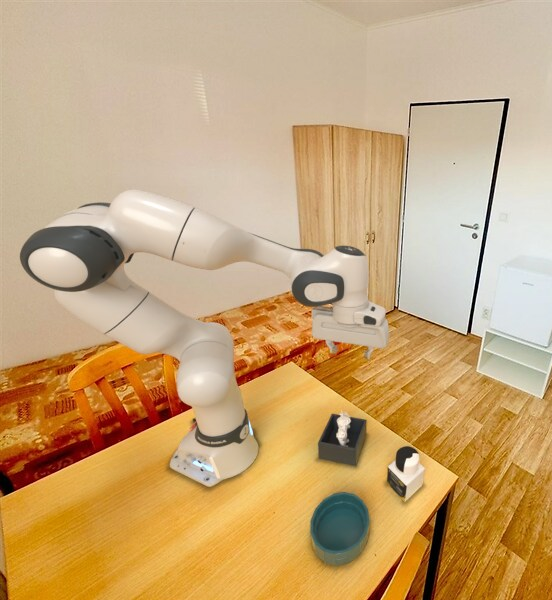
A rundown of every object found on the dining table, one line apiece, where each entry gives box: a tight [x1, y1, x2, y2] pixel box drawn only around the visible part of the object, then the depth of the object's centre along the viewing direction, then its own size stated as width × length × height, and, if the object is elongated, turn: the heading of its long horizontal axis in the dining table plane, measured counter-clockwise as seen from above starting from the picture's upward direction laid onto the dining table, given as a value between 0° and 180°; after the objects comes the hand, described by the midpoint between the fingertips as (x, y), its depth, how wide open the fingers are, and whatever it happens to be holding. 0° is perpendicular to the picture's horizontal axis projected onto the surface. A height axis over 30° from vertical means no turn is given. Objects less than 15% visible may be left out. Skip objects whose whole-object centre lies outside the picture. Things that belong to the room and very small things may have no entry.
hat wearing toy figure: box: [336, 408, 351, 447], centre depth 93 cm, size 9×4×12 cm, turn 179°
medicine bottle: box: [386, 445, 426, 503], centre depth 84 cm, size 7×7×12 cm
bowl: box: [309, 491, 371, 567], centre depth 73 cm, size 13×13×5 cm
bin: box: [317, 413, 368, 467], centre depth 94 cm, size 11×11×7 cm
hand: (350, 355), depth 86 cm, fingers open, 8 cm apart
